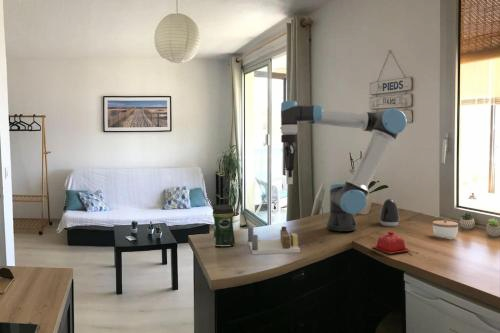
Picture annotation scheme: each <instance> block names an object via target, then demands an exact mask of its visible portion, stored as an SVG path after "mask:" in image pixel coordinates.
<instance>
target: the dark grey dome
mask: <svg viewBox="0 0 500 333" xmlns="http://www.w3.org/2000/svg"><path fill="white" fill-rule="evenodd" d="M399 213H400V212H399V208H398V206H397V203H396V202H395V200H393V199H392V198H387V199H386V200H385V201H384V202H383V203H382V206H381V208H380V213H379V222H380V225H381V226H382V225H383V226H386V227H396V226H398V225H399V223H400V221H401V220H400V219H401V218H400V214H399Z"/></svg>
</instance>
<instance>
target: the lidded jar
mask: <svg viewBox="0 0 500 333" xmlns="http://www.w3.org/2000/svg"><path fill="white" fill-rule="evenodd" d="M432 230H433V233H434V236H435V237H437V238H441V239H446V240H451V241H452V240H454V239H455V238H456V236H457V235H458V232H459V223H458V222H456V221H451V220H448V219H447V218H444V219H443V220H434V221H432Z"/></svg>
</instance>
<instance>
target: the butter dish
mask: <svg viewBox="0 0 500 333" xmlns="http://www.w3.org/2000/svg"><path fill="white" fill-rule="evenodd" d="M372 248H374V249H376V250H379V251H381V252H384V253H387V254H389V255H390V254H397V253H398V254H399V253H405V252H409V251H411V249H409V248H407V247H406V245H405V240H404V238H403V237H401V236H399V235H396V234H395V232H394V231H393V230H388V231H387V234H383V235H380V236H379V237H378V239H377V242H376V245H372Z"/></svg>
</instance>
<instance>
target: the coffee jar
mask: <svg viewBox="0 0 500 333" xmlns="http://www.w3.org/2000/svg"><path fill="white" fill-rule="evenodd" d="M212 208H213V209H212V217H213V221H214V222H213V224H214V225H213V242H212V243H214V244H215V245H233V244H234V245H235V244H236V242H235V232H234V222H233V221H234V220H233V218H234V216H235V212H234V205H232V204H216V205H213V207H212ZM214 244H213V245H214ZM234 245H233V246H234Z"/></svg>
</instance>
